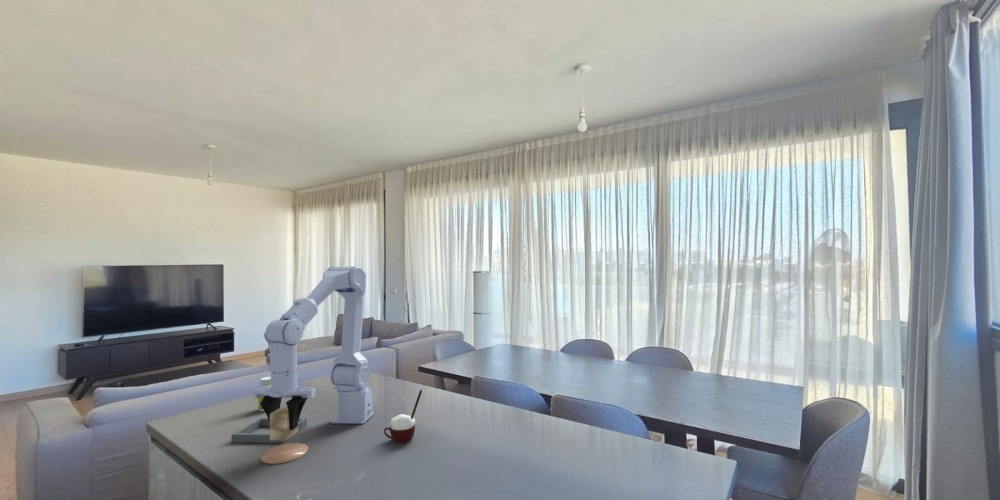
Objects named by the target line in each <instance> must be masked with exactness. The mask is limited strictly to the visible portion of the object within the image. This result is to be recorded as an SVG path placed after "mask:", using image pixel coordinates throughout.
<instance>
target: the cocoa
mask: <svg viewBox="0 0 1000 500" xmlns="http://www.w3.org/2000/svg"><path fill="white" fill-rule="evenodd" d="M422 393H423V390H422V389H419V392H418V395H417V398H416V400H415V404H414V407H413V410H412V413H411V415H408V414H398V415H396V416H394V417H392V418H390V425H389V427H385V428H384V429H383V433H384V435H385V436H386V438H388V439H390V440H393V441H394V442H395V443H398V444H401V443H403V444H404V443H407V442H409V441H411V439H413V437H414V435H415V430H416V419H415V417H414V416H415V414H416V410H417V408H418V404H419V402H420V400H421V399H420V398H421V396H422ZM387 430H389V432H390V435H389V434H388V433H387V432H386V431H387Z"/></svg>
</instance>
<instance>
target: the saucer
mask: <svg viewBox="0 0 1000 500" xmlns="http://www.w3.org/2000/svg"><path fill="white" fill-rule="evenodd" d="M308 450H309V447H308V446H307V445H306V444H304V443H299V442H296V443H295V442H294V443H293V442H292V443H291V442H290V443H283V444H280V445H277V446H273V447H271V448H269V449H266V450H265V451H264V452H262V453H261V455H260V461H261V462H262V463H263V462H264V463H263V464H266V463H267V464H266V465H279V464H280V465H281V464H285V463H290V462H293V461H296V460H298V459H300V458H302V457H304V456H306V455H307V453H308V452H309V451H308Z"/></svg>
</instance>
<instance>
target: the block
mask: <svg viewBox="0 0 1000 500" xmlns="http://www.w3.org/2000/svg"><path fill="white" fill-rule="evenodd" d="M298 433H299V432H298V426H297V427H296V428H295V429H294V430H290V426H289V411H288V407H287V406H280V408H279V409H277V410H276V411H274V412H272V413H270V426H269V434H270V440H286V441H288V440H289V439H291V438H292V437H294V436H295V435H296V434H298Z"/></svg>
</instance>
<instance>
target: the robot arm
mask: <svg viewBox="0 0 1000 500" xmlns="http://www.w3.org/2000/svg"><path fill="white" fill-rule="evenodd" d="M366 283H367V273H366V272H365V271H364V269H363V268H362V267H361V266H360V265H354V266H334V265H332V266H330V267H328V268H327V269H326V271H324V272H323V273H322V279H321V280H320V281H319V283H318V284H317V285H316V286H315V287H314V288H313V290H311V292H310V293H309V295H308V296H307V297H301V298H298V299H296V300H295V301H293V305H291V307H290V308H289V309H288V310H287V311H285V312H284V313H283V314H281V317H280V318H278V319H274V320H272V321H271V322H270V323H269V324H268V325H267V326H266V329H265V332H264V333H263V338H264V341H266V342H267V345H268V350H269V353H270V354H269V355H270V357H269V358H270V360H269V363H270V365H269V366H270V368H269V369H270V370H269V371H270V377H271V387H266V388H259V387H257V388H254V389H252V399H258V397H263V401H261V402H260V406H261V407H262V408H263V409H264V413H265V414H266V418H268V420H269V423H270V413H272V412H274V411H276V410H277V409H279V408H281V404H282V399H284V398H286V399H287V398H290V399H288V400H287V401H286V403H285V404H286V407H288V411H289V426H290V430H294V429H295V428H296V427H297V426H298V421H299V418H300V416H301V413H302V411H303V408H304V406H305V404H306V403H307V400H308V399H314V398H315V397H316V396H317V395H316V388H315V387H307V386H300V385H298V343H299V341H301V340H302V338H303V335H304V331H305V330H306V326H307V325H308V324H309V323H310V322H311V321H312V320H313V319H314V317H315V316H316V315H317V314H318V310H319V306H320V305H321V304H322V303H323V302H325V300H327V298H328V297H330V295H331V294H333V293H334V292H335V293H337V294H339V295H340V296H341V297H342V298H343V299H344V307H343V320H342V321H343V322H342V334H341V336H342V337H341V349H340V354H339V355H338V356H337V357H336V358H334V360H333V363H332V364H333V365H332V367H331V371H330V375H329V380H330V382H331V384H332V385H333V386H334V390H336V417H335V418H334V419H333V420H331V421H330V422H331V424H356V425H357V424H364V423H366V422H367V420H369V419H370V418H371V417H372V416H373V415H374V414H375V413H374V411H373V406H374V405H373V403H374V402H373V399H374V397H373V389H372V388H370V387H366V385H367V384H368V382H369V380H370V370H369V360H368V359H367V358H366V357H365V356H364V355H363V354H362V353H361V349H362V348H361V347H362V334H363V320H364V319H363V318H364V305H365V304H364V303H365V294H366V285H367V284H366Z"/></svg>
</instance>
